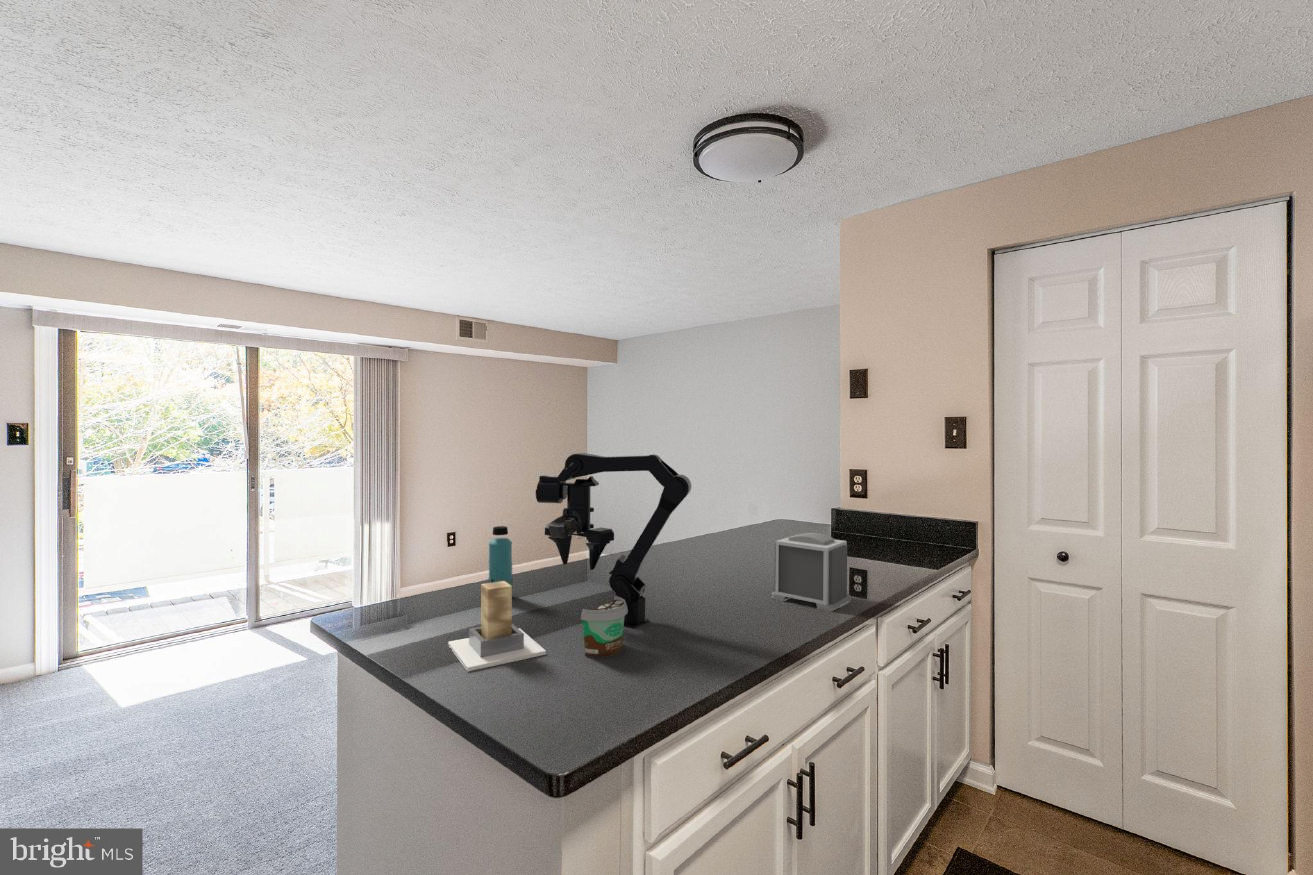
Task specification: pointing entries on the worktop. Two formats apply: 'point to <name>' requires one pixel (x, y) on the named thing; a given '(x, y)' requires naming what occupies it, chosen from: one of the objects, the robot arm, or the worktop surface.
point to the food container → (604, 628)
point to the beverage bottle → (500, 557)
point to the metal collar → (495, 642)
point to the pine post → (496, 609)
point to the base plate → (475, 662)
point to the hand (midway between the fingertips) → (578, 566)
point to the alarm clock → (811, 569)
